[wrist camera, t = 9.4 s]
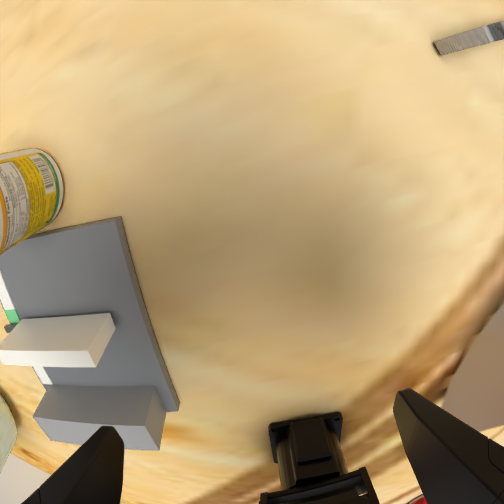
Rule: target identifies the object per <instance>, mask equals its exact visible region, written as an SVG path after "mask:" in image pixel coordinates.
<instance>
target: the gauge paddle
mask: <svg viewBox="0 0 504 504" xmlns="http://www.w3.org/2000/svg"><path fill="white" fill-rule="evenodd" d="M4 328H5V330H6V332H7V333H9V334H8V335H7V337H6V338H5V339H4V340H3V341H2V342H1V344H0V360H1V361H2V363H3V364H5V365H20V366H39V367H96V366H97V364H98V362H99V360H100V358H101V356H102V354H103V352H104V350H105V348H106V346H107V344H108V342H109V340H110V338H111V337H112V335H113V333H114V331H115V329H116V328H115V325H114V322H113V320H112V317H111V314H110V313H101V314H90V315H77V316H64V317H50V318H34V319H22V320H21V321H20V322H19V323H18V324H9V325H6V326H5V327H4Z"/></svg>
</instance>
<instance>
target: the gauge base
mask: <svg viewBox="0 0 504 504" xmlns="http://www.w3.org/2000/svg"><path fill="white" fill-rule="evenodd" d="M0 301H1V304H2V306H3V308H4V311H5V313H6V316H7V318H8V320H9V322H10V324H18V323H19V322H20V321H21V320H22V319H34V318H50V317H64V316H77V315H90V314H101V313H110V314H111V317H112V320H113V322H114V325H115V328H116V329H115V331H114V333H113V335H112V337H111V338H110V340H109V342H108V344H107V346H106V348H105V350H104V352H103V354H102V356H101V358H100V360H99V362H98V364H97V366H96V367H39V366H32V367H33V369H34V371H35V372H36V374H37V376H38V378H39V379H40V381H41V383H42V384H43V386H44V388H45V389H46V393H45V395H44V397H43V398H42V400H41V402H40V404H39V406H38V407H37V409H36V411H35V413H34V415H33V418H34V419H35V421H36V422H37V423H38V425H39V426H40V427H41V429H42V430H43V431H44V433H45V434H46V435H47V436H48V438H49V439H50V440H51V441H57V442H64V443H70V444H77V445H83V444H84V443H85V442H86V441H87V440H88V439H89V438H90V437H91V436H92V435H93V434H94V433H95V432H96V431H97V430H98V429H99V428H100V427H101V426H113V427H115V429H116V430H117V432H118V433H119V435H120V436H121V438H122V439H123V441H124V449H130V450H155V451H159V449H160V443H161V438H162V432H163V427H164V421H165V416H166V412H172V411H178V410H179V404H180V402H179V400H178V397H177V395H176V392H175V390H174V387H173V384H172V382H171V379H170V377H169V374H168V371H167V369H166V366H165V363H164V361H163V358H162V355H161V352H160V349H159V347H158V344H157V341H156V338H155V335H154V332H153V329H152V326H151V323H150V320H149V317H148V314H147V310H146V307H145V304H144V301H143V298H142V294H141V291H140V287H139V284H138V281H137V277H136V274H135V270H134V266H133V263H132V259H131V255H130V251H129V248H128V244H127V240H126V236H125V232H124V228H123V223H122V219H121V216H120V217H115V218H109V219H104V220H99V221H94V222H89V223H85V224H80V225H75V226H70V227H66V228H61V229H57V230H52V231H48V232H43V233H39V234H35V235H31V236H29V237H27V238H26V239H24V240H23V241H21V242H20V243H18V244H17V245H15V246H13V247H12V248H10V249H9V250H7V251H6V252H4V253H3V254H2V255H0Z"/></svg>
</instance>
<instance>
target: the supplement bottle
mask: <svg viewBox="0 0 504 504" xmlns="http://www.w3.org/2000/svg"><path fill="white" fill-rule="evenodd" d="M62 198H63V182H62V177H61V174H60V171H59V168H58V167H57V165H56V163H55V162H54V160H53V159H52V158H51V157H50V156H49V155H48V154H46V153H45V152H43V151H41V150H38V149H23V150H18V151H11V152H6V153H1V154H0V255H2V254H3V253H4V252H6V251H7V250H9V249H10V248H12V247H13V246H15V245H17V244H18V243H20V242H21V241H23V240H24V239H26V238H27V237H29V236H31V235H32V234H34V233H36V232H37V231H39V230H40V229H42V228H43V227H45V226H46V225H48V224H49V223H51V222H52V221H53V220H54V218H55V217H56V216H57V214H58V212H59V209H60V207H61V203H62Z"/></svg>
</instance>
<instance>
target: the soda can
mask: <svg viewBox="0 0 504 504" xmlns="http://www.w3.org/2000/svg"><path fill="white" fill-rule="evenodd" d="M409 504H427V502H426V500H425V497H424V495H421V496H419V497H417V498H415V499H414V500H412V501H411V502H410V503H409Z"/></svg>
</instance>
